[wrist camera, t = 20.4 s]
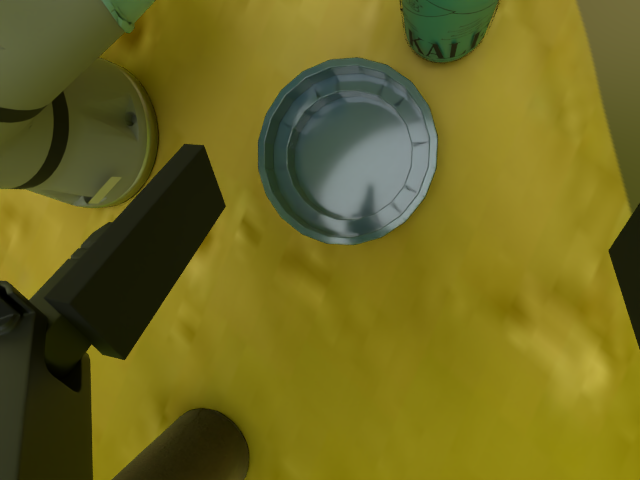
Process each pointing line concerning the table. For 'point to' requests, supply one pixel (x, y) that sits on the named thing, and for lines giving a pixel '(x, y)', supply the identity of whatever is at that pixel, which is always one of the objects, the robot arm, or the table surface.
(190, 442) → the pillar candle
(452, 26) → the beverage bottle
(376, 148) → the dish
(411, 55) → the table surface
